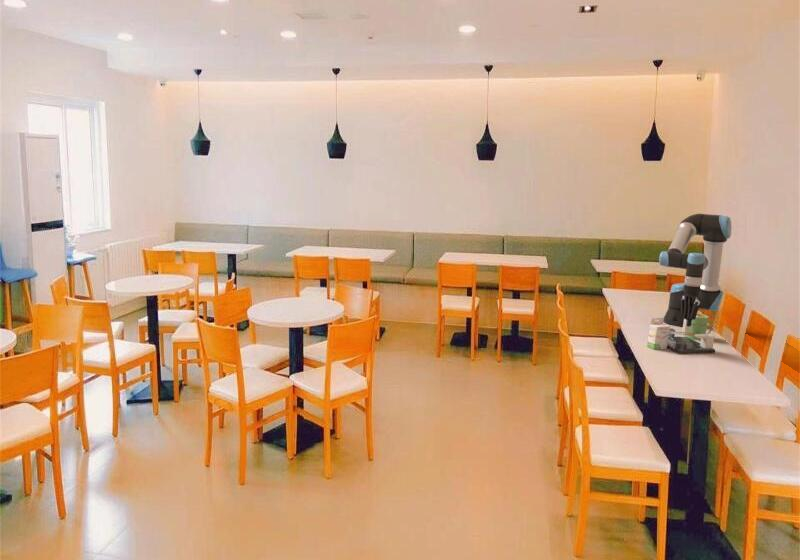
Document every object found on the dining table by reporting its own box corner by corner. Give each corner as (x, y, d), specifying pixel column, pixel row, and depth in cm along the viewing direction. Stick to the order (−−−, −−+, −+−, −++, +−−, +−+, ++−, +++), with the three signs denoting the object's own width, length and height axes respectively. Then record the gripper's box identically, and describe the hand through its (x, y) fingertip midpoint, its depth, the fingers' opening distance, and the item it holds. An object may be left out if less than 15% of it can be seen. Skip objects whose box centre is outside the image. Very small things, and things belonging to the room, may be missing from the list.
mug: (684, 338, 328) (688, 316, 326) (683, 333, 338) (686, 312, 335) (711, 342, 324) (714, 319, 321) (709, 336, 333) (712, 315, 331)
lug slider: (706, 346, 310) (708, 334, 309) (712, 348, 306) (714, 336, 305) (692, 346, 308) (694, 334, 307) (698, 348, 304) (700, 336, 303)
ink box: (654, 349, 306) (658, 320, 303) (646, 346, 310) (650, 318, 307) (667, 348, 309) (671, 319, 306) (659, 345, 313) (663, 317, 310)
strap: (669, 333, 321) (669, 331, 321) (694, 335, 302) (694, 333, 302) (665, 333, 320) (665, 331, 320) (689, 335, 302) (689, 333, 302)
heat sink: (679, 341, 317) (680, 336, 317) (689, 346, 309) (690, 340, 309) (665, 341, 315) (666, 336, 315) (675, 346, 308) (676, 341, 307)
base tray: (685, 339, 326) (687, 327, 325) (714, 353, 305) (716, 340, 304) (651, 340, 322) (653, 328, 320) (678, 353, 301) (680, 341, 299)
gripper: (676, 282, 307) (670, 328, 312) (694, 287, 295) (687, 335, 299) (690, 282, 309) (683, 328, 313) (708, 287, 296) (701, 335, 301)
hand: (685, 332), depth 306 cm, fingers closed
